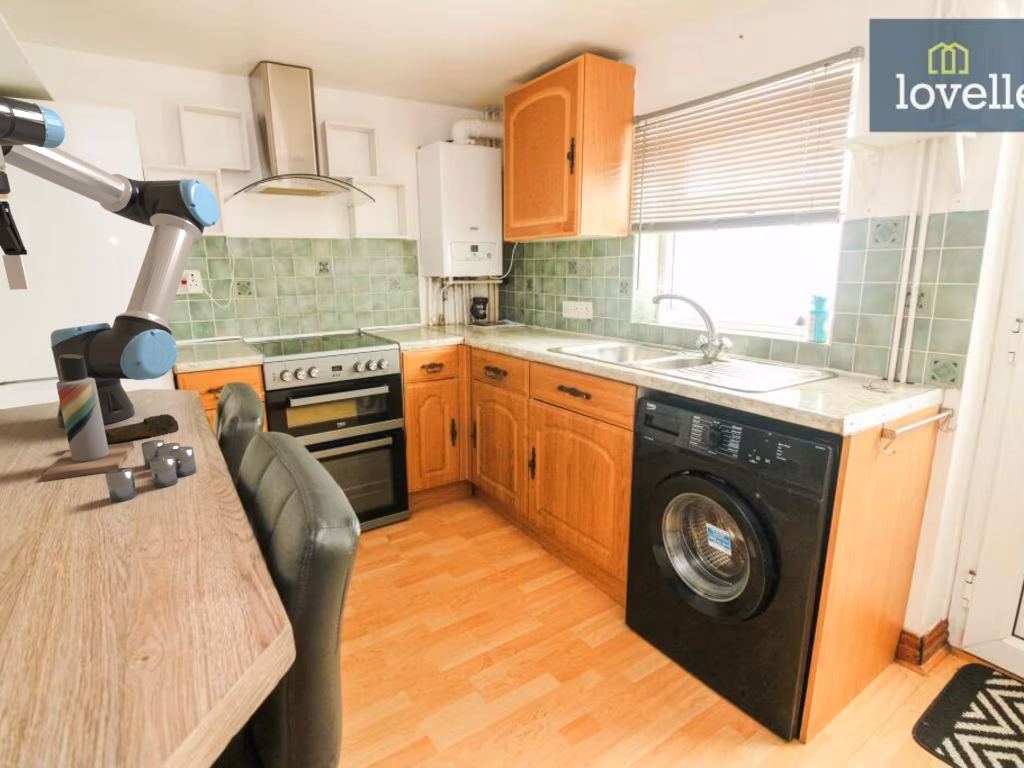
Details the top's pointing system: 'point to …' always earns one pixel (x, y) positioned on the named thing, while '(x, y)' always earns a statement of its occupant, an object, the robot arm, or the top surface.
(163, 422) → the hand tool
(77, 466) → the brown wooden flat board
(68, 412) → the lotion bottle
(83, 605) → the top surface
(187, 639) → the top surface
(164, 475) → the steel spacers
